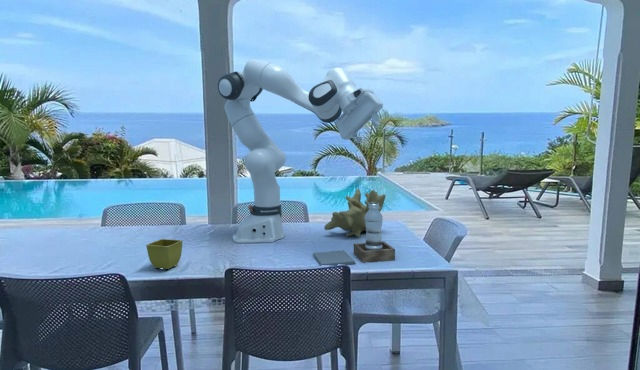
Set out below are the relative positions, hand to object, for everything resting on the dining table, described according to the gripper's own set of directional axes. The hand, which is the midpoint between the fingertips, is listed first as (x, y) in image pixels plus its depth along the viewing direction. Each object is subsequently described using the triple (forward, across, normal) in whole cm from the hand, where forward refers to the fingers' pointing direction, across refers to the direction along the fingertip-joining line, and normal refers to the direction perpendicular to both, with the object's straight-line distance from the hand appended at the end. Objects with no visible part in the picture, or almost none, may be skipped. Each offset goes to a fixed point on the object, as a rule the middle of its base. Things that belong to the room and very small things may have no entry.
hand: (368, 134), depth 157 cm
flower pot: (+14, -65, -53) cm, 85 cm away
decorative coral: (+18, -45, +26) cm, 55 cm away
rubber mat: (+32, -33, -8) cm, 47 cm away
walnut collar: (+37, -25, +4) cm, 45 cm away
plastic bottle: (+37, -25, +4) cm, 45 cm away
